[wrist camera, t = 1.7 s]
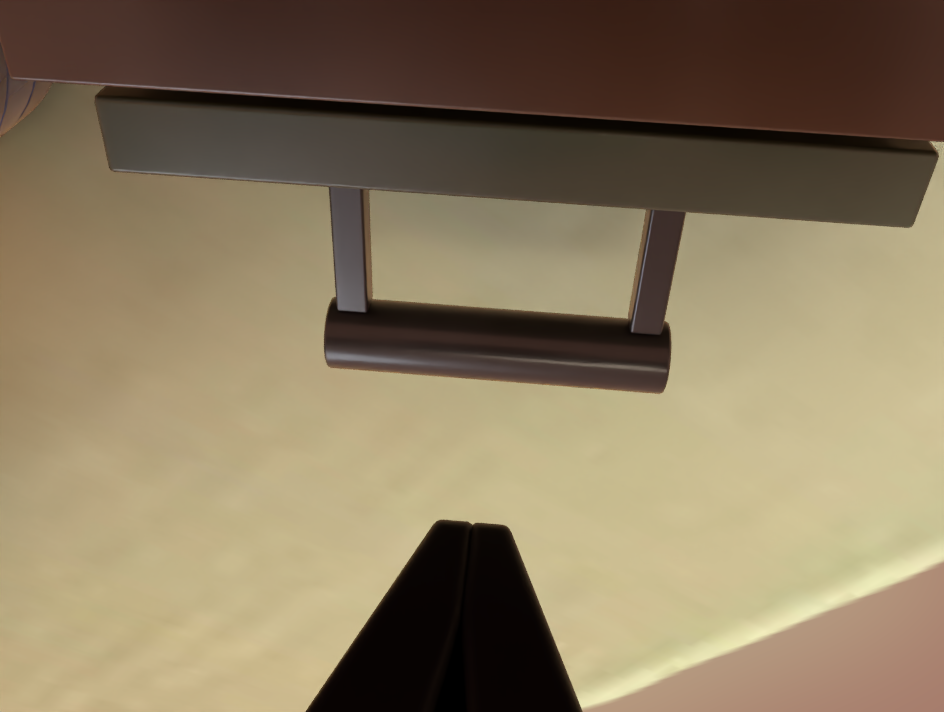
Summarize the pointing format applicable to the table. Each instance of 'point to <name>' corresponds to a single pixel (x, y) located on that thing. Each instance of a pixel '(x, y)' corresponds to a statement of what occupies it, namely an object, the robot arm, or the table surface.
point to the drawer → (514, 178)
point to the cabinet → (517, 56)
